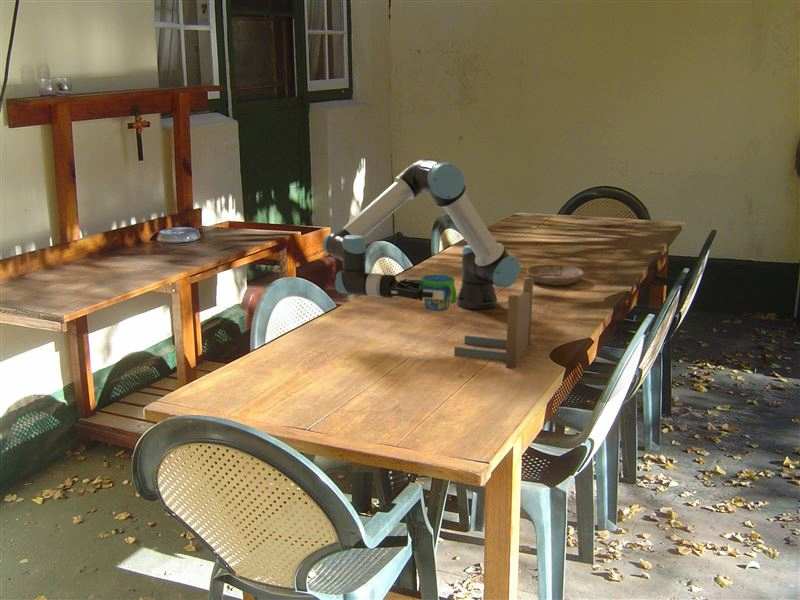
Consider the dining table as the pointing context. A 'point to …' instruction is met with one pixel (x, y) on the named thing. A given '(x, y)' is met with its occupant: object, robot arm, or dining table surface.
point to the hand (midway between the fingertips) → (447, 291)
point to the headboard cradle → (515, 331)
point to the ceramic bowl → (555, 274)
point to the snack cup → (439, 284)
